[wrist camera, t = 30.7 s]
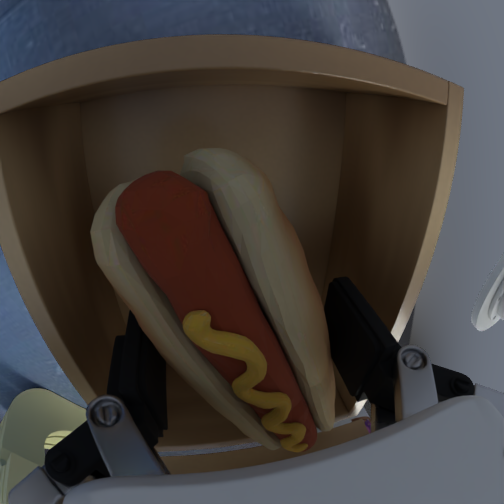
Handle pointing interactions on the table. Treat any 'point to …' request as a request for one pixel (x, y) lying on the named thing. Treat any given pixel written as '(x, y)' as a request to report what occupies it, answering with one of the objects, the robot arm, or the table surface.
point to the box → (237, 140)
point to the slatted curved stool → (33, 433)
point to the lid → (260, 452)
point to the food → (223, 293)
